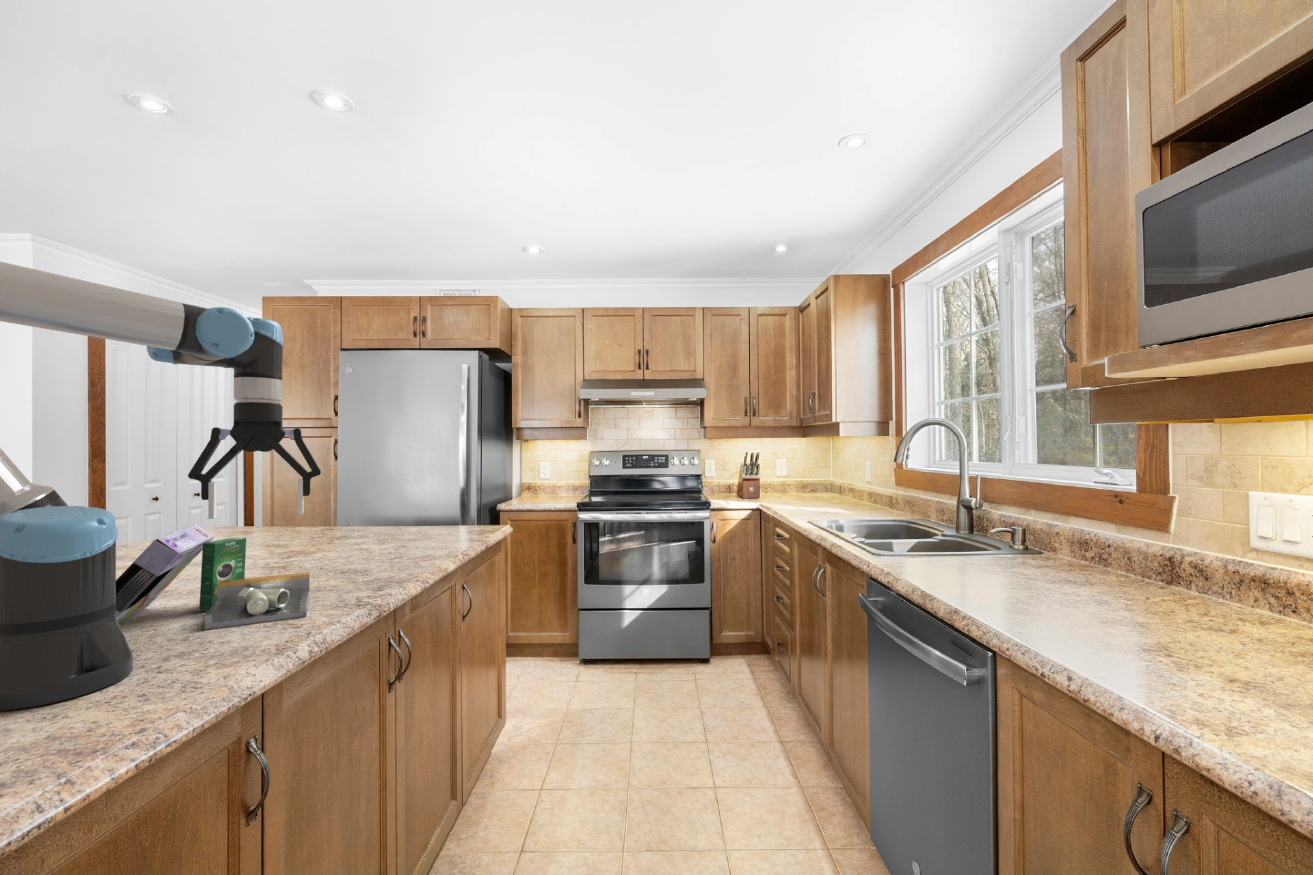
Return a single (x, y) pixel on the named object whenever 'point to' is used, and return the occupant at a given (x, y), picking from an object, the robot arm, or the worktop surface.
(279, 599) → the pipe fitting
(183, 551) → the cake pan box
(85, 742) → the worktop surface
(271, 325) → the robot arm
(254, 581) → the grey tray
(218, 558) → the coffee box
